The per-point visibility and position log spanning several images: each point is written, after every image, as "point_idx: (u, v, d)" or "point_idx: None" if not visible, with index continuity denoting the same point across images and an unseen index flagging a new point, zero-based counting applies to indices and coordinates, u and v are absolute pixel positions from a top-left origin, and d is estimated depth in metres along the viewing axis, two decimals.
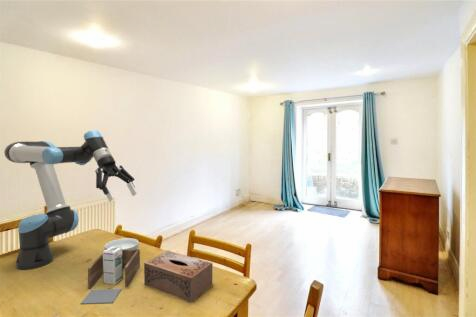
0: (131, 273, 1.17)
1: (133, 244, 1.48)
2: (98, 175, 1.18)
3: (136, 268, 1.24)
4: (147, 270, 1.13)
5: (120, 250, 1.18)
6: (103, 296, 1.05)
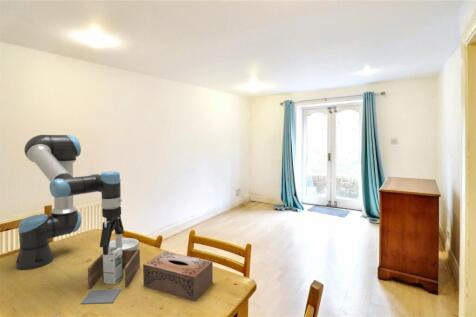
0: (131, 273, 1.17)
1: (133, 244, 1.48)
2: (106, 232, 1.08)
3: (136, 268, 1.24)
4: (147, 271, 1.12)
5: (121, 250, 1.18)
6: (103, 296, 1.05)
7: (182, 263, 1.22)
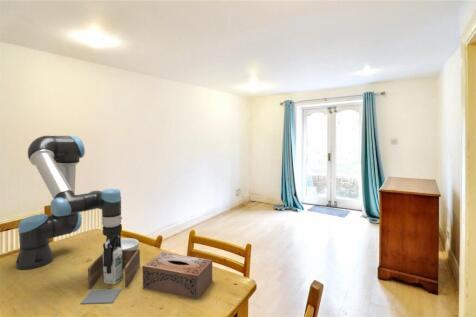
0: (131, 273, 1.17)
1: (133, 244, 1.48)
2: (107, 253, 1.10)
3: (136, 268, 1.24)
4: (147, 273, 1.11)
5: (121, 250, 1.18)
6: (103, 296, 1.05)
7: (180, 263, 1.22)
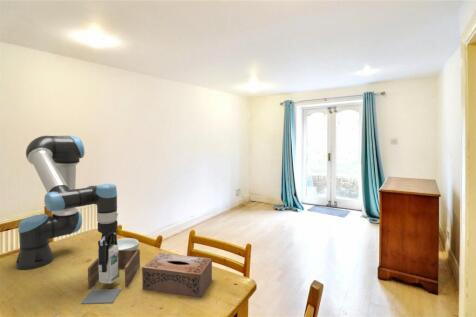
0: (131, 273, 1.17)
1: (133, 244, 1.48)
2: (103, 250, 1.05)
3: (136, 268, 1.24)
4: (147, 274, 1.10)
5: (117, 248, 1.13)
6: (103, 296, 1.05)
7: (179, 263, 1.22)
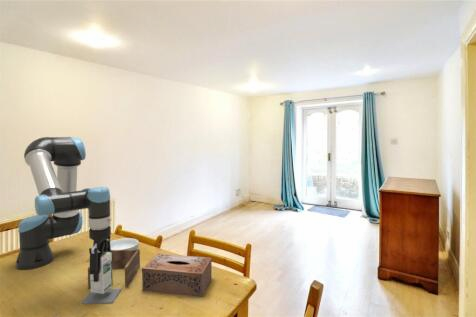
0: (131, 273, 1.17)
1: (133, 244, 1.48)
2: (94, 259, 0.98)
3: (136, 268, 1.24)
4: (147, 275, 1.09)
5: (110, 255, 1.06)
6: (103, 296, 1.05)
7: (178, 263, 1.22)
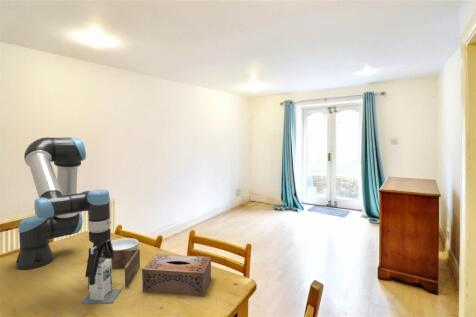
0: (131, 273, 1.17)
1: (133, 244, 1.48)
2: (92, 259, 0.96)
3: (136, 268, 1.24)
4: (147, 276, 1.08)
5: (109, 261, 1.06)
6: None
7: (177, 263, 1.22)
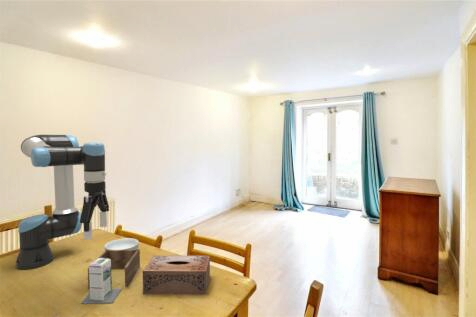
0: (131, 273, 1.17)
1: (133, 244, 1.48)
2: (87, 207, 0.99)
3: (136, 268, 1.24)
4: (148, 277, 1.07)
5: (109, 262, 1.06)
6: None
7: (175, 264, 1.21)
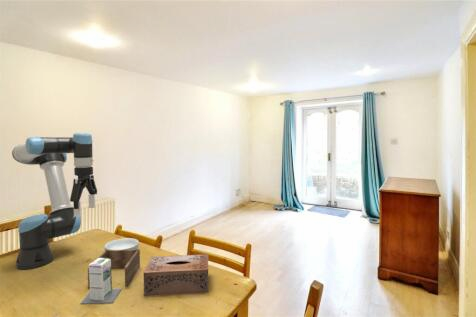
0: (131, 273, 1.17)
1: (133, 244, 1.48)
2: (76, 187, 1.15)
3: (136, 268, 1.24)
4: (149, 279, 1.06)
5: (109, 262, 1.06)
6: None
7: (173, 264, 1.21)
